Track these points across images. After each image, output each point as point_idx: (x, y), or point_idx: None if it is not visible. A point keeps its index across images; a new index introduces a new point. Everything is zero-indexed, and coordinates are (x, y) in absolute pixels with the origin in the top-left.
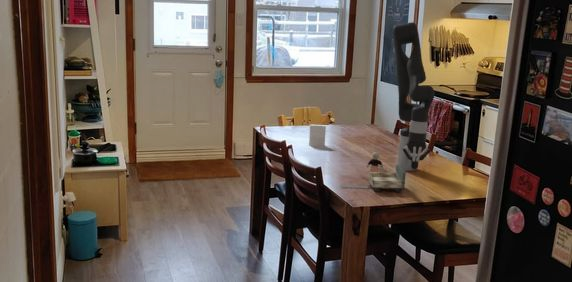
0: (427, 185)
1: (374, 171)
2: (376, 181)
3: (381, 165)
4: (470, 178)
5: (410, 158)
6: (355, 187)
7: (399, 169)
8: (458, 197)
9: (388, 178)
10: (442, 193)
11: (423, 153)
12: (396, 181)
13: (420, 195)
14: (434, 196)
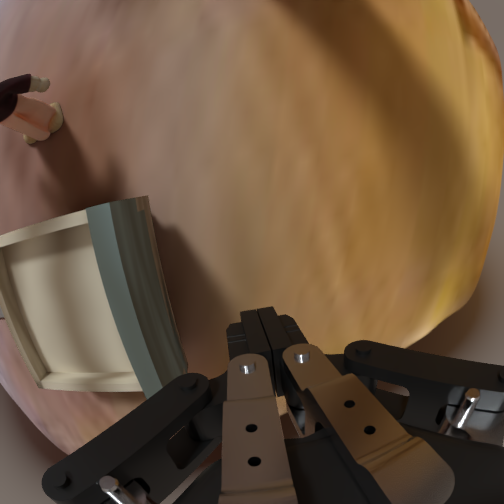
0: (338, 179)
1: (20, 132)
2: (51, 387)
3: (34, 90)
4: (481, 75)
5: (212, 438)
6: (1, 316)
7: (125, 340)
8: (414, 330)
9: (85, 273)
10: (377, 301)
11: (421, 399)
12: (137, 390)
13: None
14: (330, 354)
